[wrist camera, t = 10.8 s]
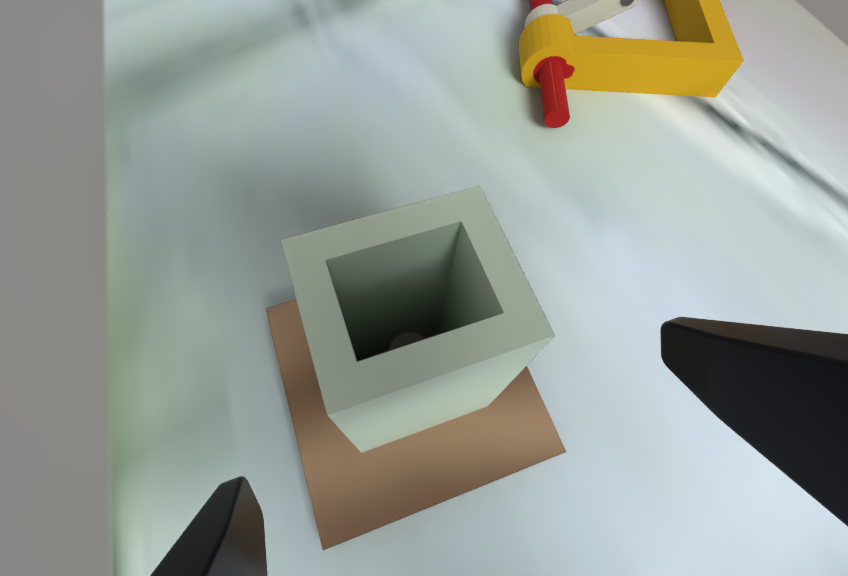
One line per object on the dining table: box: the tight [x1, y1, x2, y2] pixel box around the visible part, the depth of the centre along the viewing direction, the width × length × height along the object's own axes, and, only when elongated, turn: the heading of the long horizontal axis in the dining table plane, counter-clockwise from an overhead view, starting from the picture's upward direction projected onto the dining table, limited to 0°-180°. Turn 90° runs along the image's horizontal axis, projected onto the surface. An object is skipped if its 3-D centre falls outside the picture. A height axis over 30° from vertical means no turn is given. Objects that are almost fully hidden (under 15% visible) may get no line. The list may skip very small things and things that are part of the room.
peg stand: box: [266, 300, 566, 550], centre depth 20 cm, size 11×11×5 cm
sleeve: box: [281, 185, 555, 453], centre depth 17 cm, size 5×6×10 cm
